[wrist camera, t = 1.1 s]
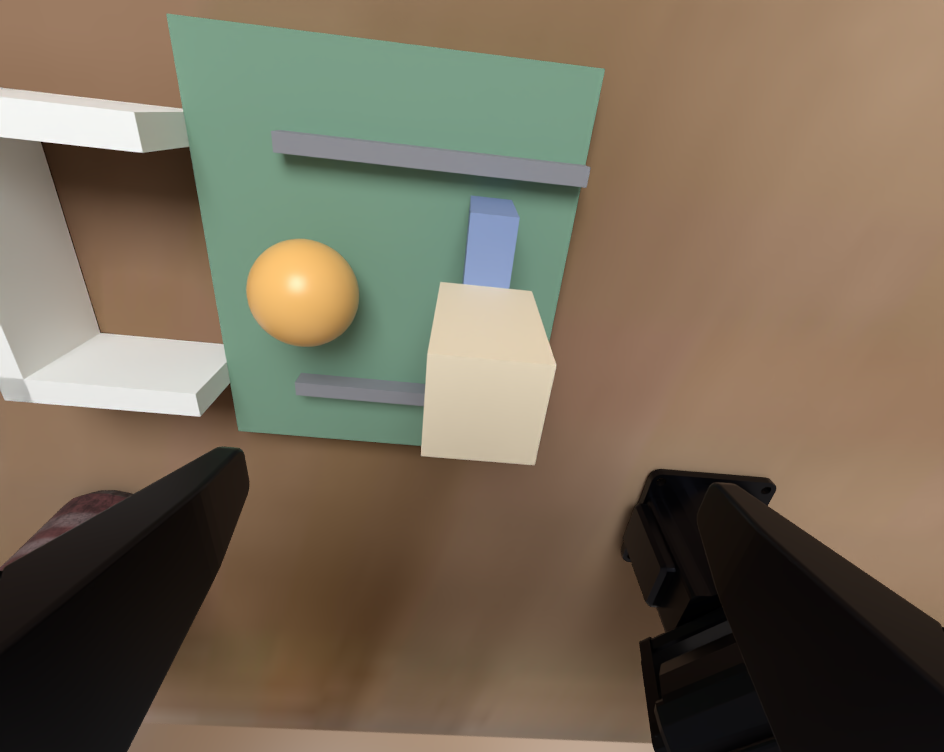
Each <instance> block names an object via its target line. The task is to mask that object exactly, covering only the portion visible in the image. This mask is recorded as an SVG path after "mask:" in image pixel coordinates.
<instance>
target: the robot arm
mask: <svg viewBox="0 0 944 752" xmlns="http://www.w3.org/2000/svg"><path fill="white" fill-rule="evenodd" d="M660 478H662V479H661V480H658V479H660ZM248 491H249V477H248V471H247V466H246V460H245V455H244V452H243V451H242V450H241V449H240V448H234V447H217V448H215V449H213V450H211V451H209V452H208V453H206V454H204V455H202V456H201V457H199V458H197V459H195V460H193V461H192V462H190V463H188V464H186V465H185V466H183V467H181V468H179V469H177V470H176V471H174V472H172V473H170V474H168V475H167V476H165V477H163V478H161V479H160V480H158V481H156V482H154V483H152V484H151V485H149V486H147V487H145V488H144V489H142V490H140V491H138V492H136V493H135V494H133V495H131V496H129V497H127V498H126V499H124V500H122V501H120V502H119V503H117V504H115V505H113V506H111V507H110V508H108V509H106V510H104V511H103V512H101V513H99V514H97V515H95V516H94V517H92V518H90V519H88V520H86V521H85V522H83V523H81V524H79V525H78V526H76V527H74V528H72V529H70V530H69V531H67V532H65V533H63V534H61V535H60V536H58V537H56V538H54V539H53V540H51V541H49V542H47V543H45V544H44V545H42V546H40V547H38V548H36V549H35V550H33V551H31V552H29V553H28V554H26V555H24V556H22V557H20V558H19V559H17V560H15V561H13V562H11V563H10V564H8V565H6V566H5V567H4V568H3V571H2V570H0V752H127V751H128V749H129V747H130V745H131V743H132V741H133V739H134V737H135V735H136V733H137V731H138V729H139V727H140V725H141V723H142V721H143V719H144V717H145V715H146V713H147V712H148V710H149V708H150V706H151V704H152V702H153V700H154V698H155V696H156V694H157V692H158V690H159V688H160V686H161V684H162V682H163V680H164V678H165V676H166V674H167V672H168V670H169V668H170V666H171V664H172V662H173V660H174V658H175V656H176V654H177V652H178V650H179V648H180V646H181V644H182V642H183V640H184V638H185V636H186V634H187V632H188V630H189V628H190V627H191V625H192V623H193V621H194V619H195V617H196V615H197V613H198V611H199V609H200V607H201V605H202V603H203V601H204V599H205V597H206V595H207V593H208V591H209V589H210V587H211V585H212V583H213V581H214V579H215V577H216V575H217V573H218V571H219V568H220V566H221V564H222V561H223V559H224V556H225V554H226V551H227V548H228V545H229V543H230V540H231V537H232V535H233V532H234V529H235V527H236V524H237V521H238V519H239V516H240V513H241V511H242V508H243V505H244V503H245V500H246V497H247V495H248ZM775 491H776V486H775V484H774V483H773V482H772V481H771V480H770V479H769V478H763V477H751V476H739V475H726V474H714V473H702V472H690V471H678V470H665V469H657V470H655V471H653V472H651V473H650V475H649V477H648V479H647V482H646V485H645V487H644V490H643V493H642V495H641V498H640V501H639V503H638V504H637V505H636V506H635V507H634V510H633V513H632V515H631V518H630V521H629V523H628V526H627V529H626V531H625V534H624V537H623V540H624V543H623V545H622V548H621V554H622V557H623V559H624V560H625V561H627V562H631V563H632V566H633V569H634V571H635V574H636V577H637V580H638V583H639V586H640V588H641V591H642V594H643V597H644V600H645V602H646V603H647V604H648V605H649V606H650V607H656V608H657V611H658V613H659V616H660V619H661V622H662V624H663V627H664V630H665V633H663V634H660V635H658V636H656V637H654V638H651V637H648V638H646V639H644V640H642V641H640V642H639V644H640V652H641V659H642V660H641V665H642V672H643V679H644V687H645V694H646V701H647V709H648V716H649V723H650V731H651V738H652V745H653V748H654V751H655V752H944V627H942V626H941V624H940V623H939V622H938V621H936V620H935V619H933V618H932V617H930V616H929V615H927V614H926V613H924V612H923V611H921V610H920V609H918V608H917V607H915V606H914V605H913V604H911V603H910V602H908V601H907V600H905V599H904V598H902V597H901V596H899V595H898V594H896V593H895V592H893V591H892V590H890V589H889V588H888V587H886V586H885V585H883V584H882V583H880V582H879V581H877V580H876V579H874V578H873V577H871V576H870V575H868V574H867V573H865V572H864V571H862V570H861V569H860V568H858V567H857V566H855V565H854V564H852V563H851V562H849V561H848V560H846V559H845V558H843V557H842V556H840V555H839V554H837V553H836V552H835V551H833V550H832V549H830V548H829V547H827V546H826V545H824V544H823V543H821V542H820V541H818V540H817V539H815V538H814V537H812V536H811V535H809V534H808V533H807V532H805V531H804V530H802V529H801V528H799V527H798V526H796V525H795V524H793V523H792V522H790V521H789V520H787V519H786V518H784V517H783V516H782V515H780V514H779V513H777V512H776V511H774V510H773V509H771V508H770V507H768V504H769V502H770V500H771V499H772V497H773V495H774V493H775Z"/></svg>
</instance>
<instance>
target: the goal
mask: <svg viewBox="0 0 944 752" xmlns="http://www.w3.org/2000/svg"><path fill="white" fill-rule="evenodd" d="M41 142H50V143H59V144H68V145H77V146H86V147H95V148H104V149H113V150H122V151H131V152H140V153H145V152H153V151H160V150H168V149H176V148H183V147H189V142H188V136H187V130H186V124H185V119H184V113H183V109H180V108H172V107H163V106H154V105H146V104H137V103H129V102H120V101H111V100H103V99H94V98H86V97H77V96H68V95H60V94H51V93H42V92H34V91H25V90H17V89H8V88H0V390H1V393H2V395H3V397H4V399H5V400H7V401H19V402H31V403H43V404H55V405H67V406H79V407H91V408H103V409H115V410H127V411H139V412H151V413H163V414H175V415H187V416H199V417H201V415H202V414H203V413H204V412H205V411H206V410H207V409H208V407H209V406H210V405H211V404H212V403H213V402H214V401H215V400H216V398H217V397H218V396H219V395H220V394H221V393H222V392H223V390H224V389H225V388H226V387H227V386H228V385H229V384H230V379H229V373H228V367H227V361H226V356H225V350H224V344H215V343H204V342H194V341H183V340H172V339H161V338H150V337H139V336H128V335H117V334H106V333H100V330H99V327H98V324H97V321H96V317H95V314H94V311H93V308H92V305H91V301H90V298H89V295H88V292H87V289H86V285H85V282H84V279H83V276H82V273H81V269H80V266H79V263H78V260H77V257H76V253H75V250H74V247H73V244H72V241H71V237H70V234H69V231H68V228H67V224H66V221H65V218H64V215H63V212H62V208H61V205H60V202H59V199H58V196H57V192H56V189H55V186H54V183H53V180H52V176H51V173H50V170H49V167H48V164H47V160H46V157H45V154H44V151H43V148H42V144H41Z"/></svg>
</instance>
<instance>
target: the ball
mask: <svg viewBox="0 0 944 752" xmlns="http://www.w3.org/2000/svg"><path fill="white" fill-rule="evenodd" d="M246 294H247V300H248V305H249V308H250V311H251V313H252V315H253V317H254V318H255V320H256V321H257V323H258V324H259V325H260V326H261V327H262V328H263V329H264V330H265V331H266V332H267V333H268V334H269V335H271V336H272V337H274V338H275V339H277V340H279V341H281V342H284V343H286V344H289V345H293V346H299V347H313V346H319V345H322V344H325V343H328V342H330V341H332V340H334V339H336V338H337V337H338V336H340V335H341V334H342V333H344V332H345V331H346V330H347V328H348V327H349V326H350V324H351V323H352V321H353V319H354V318H355V315H356V312H357V310H358V305H359V287H358V282H357V279H356V276H355V274H354V272H353V270H352V268H351V267H350V265H349V264H348V262H347V261H346V260H345V259H344V258H343V257H342V256H341V255H340V254H339V253H338V252H337V251H335V250H334V249H332V248H331V247H329V246H327V245H325V244H323V243H320V242H317V241H314V240H309V239H291V240H286V241H282V242H279V243H277V244H275V245H273V246H271V247H269V248H268V249H266V250H265V251H264V252H263V253H262V254H261V255H260V256H259V257H258V258H257V259H256V261H255V262H254V264H253V266H252V267H251V269H250V272H249V275H248V279H247V285H246Z"/></svg>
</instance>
